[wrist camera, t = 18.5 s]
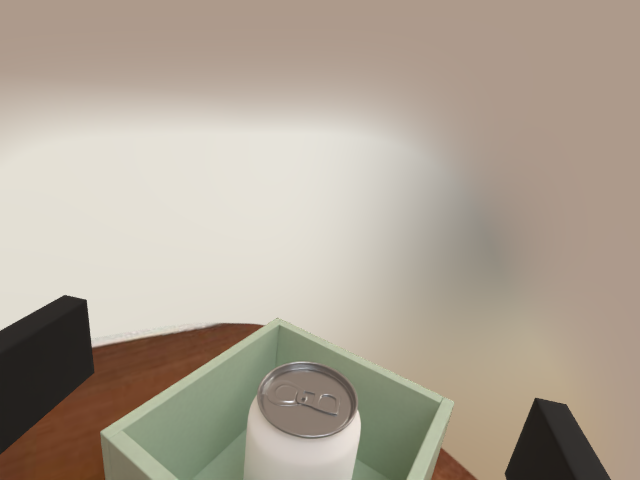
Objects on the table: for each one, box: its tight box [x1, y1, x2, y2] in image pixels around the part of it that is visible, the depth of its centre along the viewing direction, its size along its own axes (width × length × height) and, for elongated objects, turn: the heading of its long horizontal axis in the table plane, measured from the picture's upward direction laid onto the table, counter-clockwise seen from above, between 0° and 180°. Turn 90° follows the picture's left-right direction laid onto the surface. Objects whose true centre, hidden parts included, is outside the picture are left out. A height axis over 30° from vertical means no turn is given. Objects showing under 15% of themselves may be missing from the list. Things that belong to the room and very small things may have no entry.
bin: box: [100, 318, 454, 480], centre depth 25 cm, size 16×16×10 cm
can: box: [243, 361, 361, 480], centre depth 23 cm, size 6×6×12 cm
